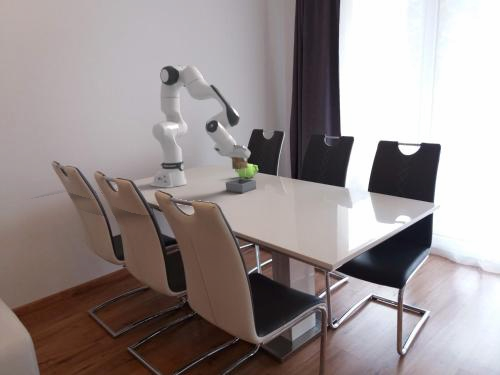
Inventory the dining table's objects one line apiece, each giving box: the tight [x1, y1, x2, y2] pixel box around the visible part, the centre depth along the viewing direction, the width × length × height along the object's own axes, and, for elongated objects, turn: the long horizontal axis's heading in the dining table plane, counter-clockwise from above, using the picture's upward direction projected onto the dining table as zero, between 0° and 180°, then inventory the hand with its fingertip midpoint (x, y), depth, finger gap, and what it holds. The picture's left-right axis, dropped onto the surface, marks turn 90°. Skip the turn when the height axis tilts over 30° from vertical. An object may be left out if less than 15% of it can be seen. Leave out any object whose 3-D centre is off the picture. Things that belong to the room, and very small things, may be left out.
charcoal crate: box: [225, 177, 257, 194], centre depth 230 cm, size 12×12×5 cm
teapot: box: [234, 162, 259, 180], centre depth 260 cm, size 12×12×10 cm
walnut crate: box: [231, 157, 248, 170], centre depth 227 cm, size 6×6×8 cm
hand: (240, 159), depth 228 cm, fingers closed on walnut crate, 6 cm apart
